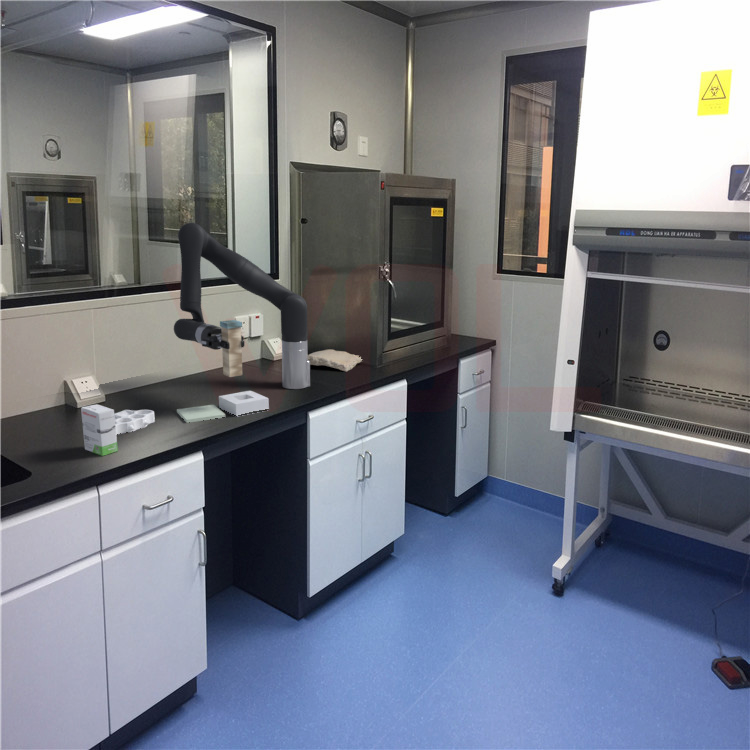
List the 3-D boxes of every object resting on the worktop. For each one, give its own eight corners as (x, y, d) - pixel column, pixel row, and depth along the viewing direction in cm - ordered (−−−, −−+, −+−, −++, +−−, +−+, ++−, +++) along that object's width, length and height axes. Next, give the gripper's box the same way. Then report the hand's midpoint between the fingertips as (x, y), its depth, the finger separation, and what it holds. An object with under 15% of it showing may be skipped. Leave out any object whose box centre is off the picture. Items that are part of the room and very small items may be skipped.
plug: (236, 372, 216) (234, 319, 212) (243, 375, 212) (242, 322, 208) (222, 374, 213) (219, 321, 209) (229, 377, 209) (227, 323, 205)
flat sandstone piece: (342, 376, 265) (364, 362, 282) (341, 358, 263) (363, 344, 280) (290, 371, 275) (314, 357, 292) (288, 354, 273) (313, 341, 290)
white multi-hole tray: (131, 415, 210) (165, 423, 203) (82, 431, 195) (116, 440, 188) (130, 405, 209) (164, 413, 202) (81, 420, 194) (115, 429, 187)
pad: (214, 407, 218) (214, 404, 218) (225, 417, 208) (225, 414, 208) (176, 412, 212) (176, 409, 212) (186, 422, 202) (186, 419, 202)
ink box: (118, 451, 178) (115, 409, 175) (101, 456, 174) (97, 413, 172) (100, 444, 183) (97, 403, 180) (83, 449, 179) (79, 407, 177)
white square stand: (250, 402, 225) (250, 390, 224) (268, 410, 216) (268, 398, 215) (219, 408, 218) (218, 396, 217) (236, 416, 209) (236, 404, 208)
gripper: (190, 327, 216) (214, 335, 203) (230, 323, 224) (255, 330, 212) (191, 350, 218) (215, 359, 205) (231, 345, 226) (256, 354, 214)
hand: (235, 345), depth 208 cm, fingers closed on plug, 4 cm apart
